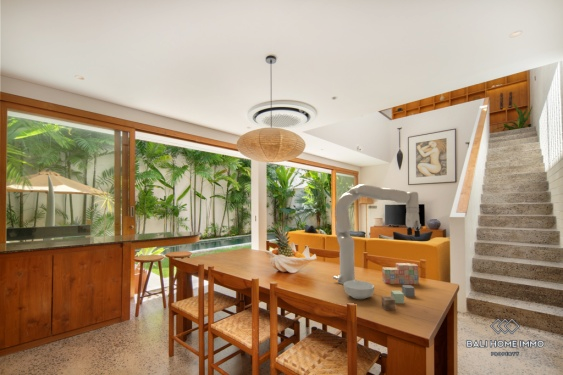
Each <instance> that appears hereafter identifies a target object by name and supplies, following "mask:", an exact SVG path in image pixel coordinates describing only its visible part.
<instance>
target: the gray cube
mask: <svg viewBox="0 0 563 375" xmlns="http://www.w3.org/2000/svg"><path fill="white" fill-rule="evenodd" d="M401 292H402V293H403V294H404V297H407V298H408V297H409V298H410V297H411V298H415V297H416V295H415V294H416V291H415V287H414V286H413V285H412V284H401Z"/></svg>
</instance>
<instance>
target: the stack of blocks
mask: <svg viewBox="0 0 563 375" xmlns="http://www.w3.org/2000/svg"><path fill="white" fill-rule="evenodd" d="M381 272H382V274H381V275H382V282H383V283H384V284H389V285H390V284H392V285H394V284H396V285H419V283H420V280H419V276H420V274H419V265H418V264H416V263H408V262H405V263H404V262H396V263H395V267H386V266H385V267H382V270H381Z"/></svg>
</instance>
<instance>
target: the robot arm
mask: <svg viewBox="0 0 563 375" xmlns="http://www.w3.org/2000/svg"><path fill="white" fill-rule="evenodd" d="M361 197H362V198H367V199H373V200H379V201H392V202H394V203H397V204H399V203H400V204H405V209H406V213H405V226H406V233H407V236H413V229H414V237H415V238H420V237H421V232H420V231H421V226H422V224H421V223H420V214H419V213H420V208H419V207H420V206H419V203H420V202H419V193H418V192H417V191H408V192H407V191H405V190H398V189H392V188H386V187H380V186H377V185H375V186H374V185H369V184H360V183H359V184H357V185H355V186H354V187H352V188H350V189H349V190H347V191H346V192H344V193H343V194H341V196H340V197H339V199H338V200H337V202H336V204H335V218H336V221H335V226H334V227H335V228H334V229H335V234H336V240H337V244H338V245H339V274H338V275H337V276H336V275H333V276H332V279H333V280H337V283H338V284H340V285H344V282H346V281H352V280H356V276H355V275H356V274H355V240H354V238H353V237H352V236H351V233H350V231H351V228H352V227H351V226H352V225H351V220H350V213H349V208H350V206H351V205H353V204H354V202H355V201H357V200H359V199H360V198H361Z"/></svg>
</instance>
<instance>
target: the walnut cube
mask: <svg viewBox="0 0 563 375" xmlns="http://www.w3.org/2000/svg"><path fill="white" fill-rule="evenodd" d="M381 307H382V308H383V309H384V310H385V311H396V303H395V300H394V299H393V298H392V297H391V296H381Z"/></svg>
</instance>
